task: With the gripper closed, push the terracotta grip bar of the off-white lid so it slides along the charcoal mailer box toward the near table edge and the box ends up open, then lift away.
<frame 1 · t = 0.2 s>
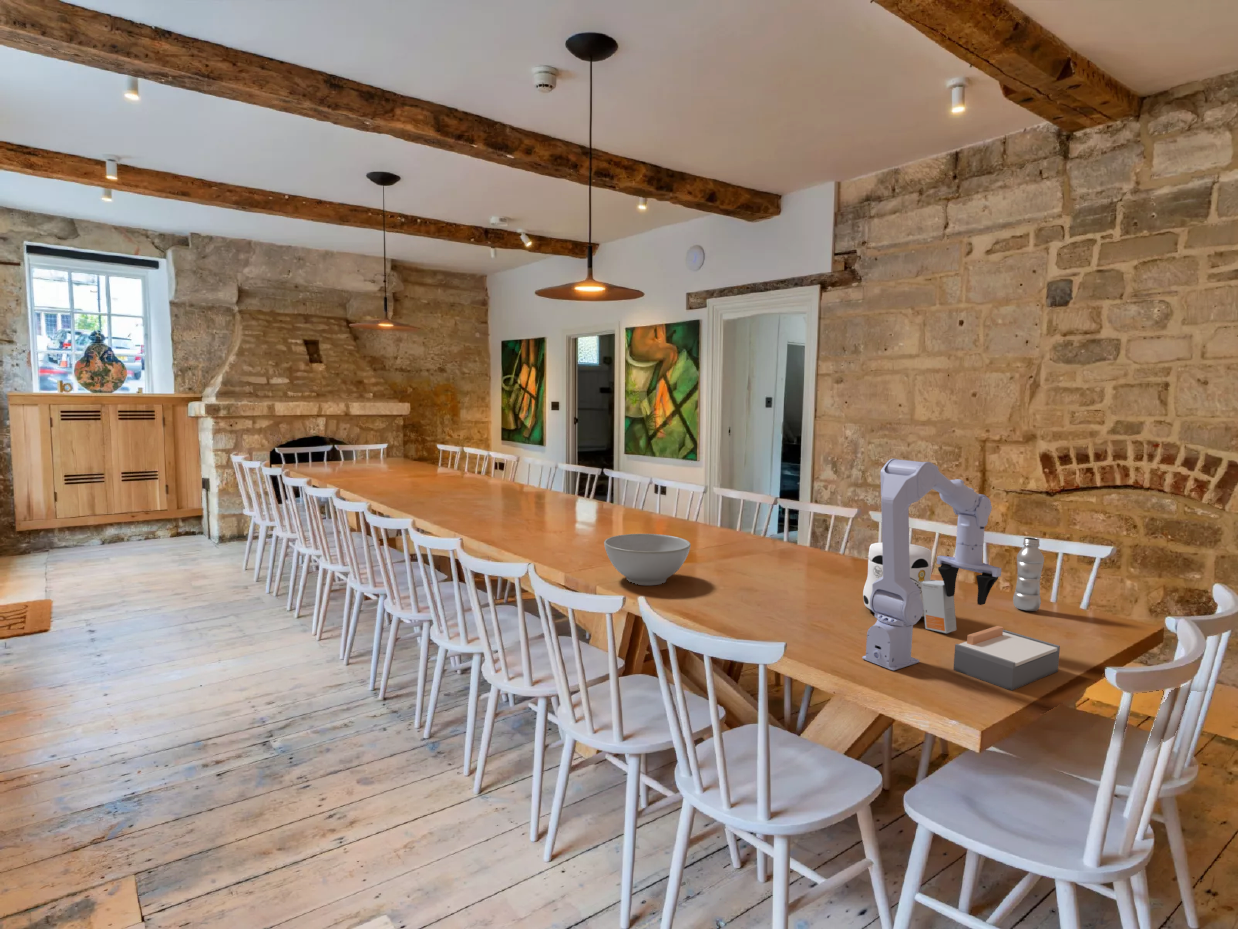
hand: (965, 600, 161), 10 cm above the table, tool pointing down, fingers open, 7 cm apart
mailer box: (1005, 670, 144), on the table
milk container: (896, 614, 182), on the table
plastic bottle: (1026, 610, 188), on the table
lid: (1007, 643, 144), point 6 cm above the table, slide at 0.0 cm
skincare box: (941, 630, 168), on the table, touching gripper
decorative bowl: (646, 580, 212), on the table
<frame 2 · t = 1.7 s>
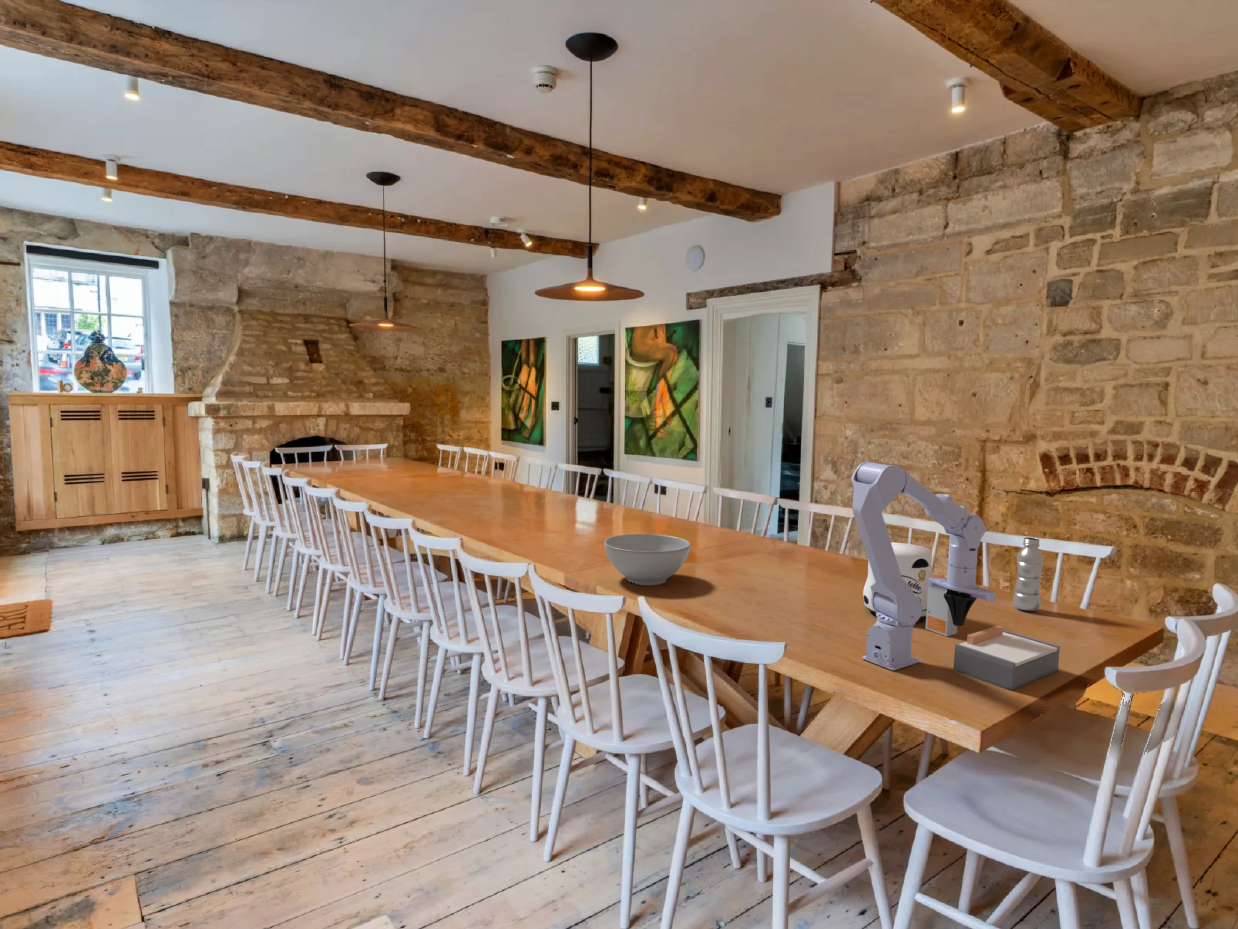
hand: (958, 624, 153), 7 cm above the table, tool pointing down, fingers closed
skincare box: (941, 632, 168), on the table
everything else where it was.
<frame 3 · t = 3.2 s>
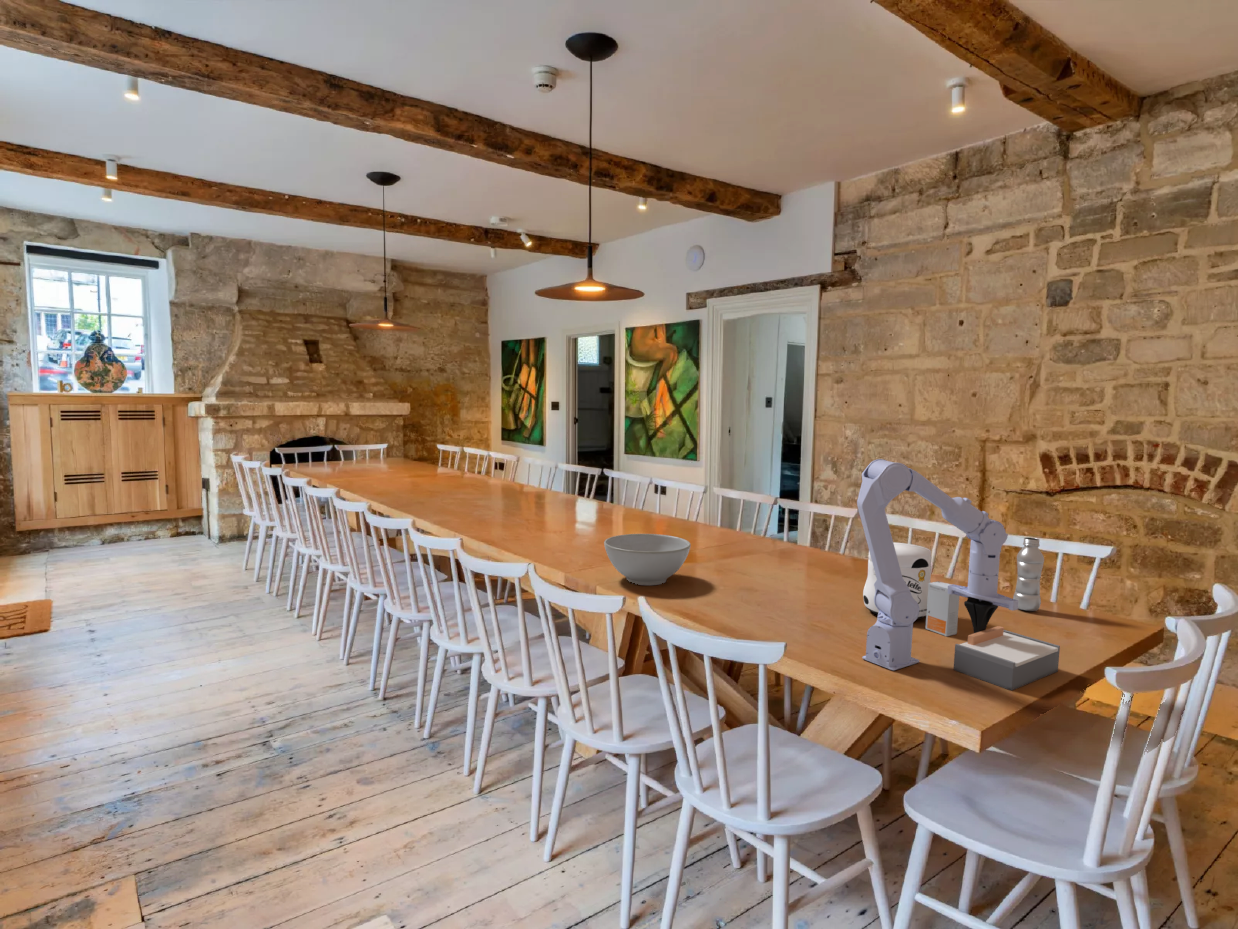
hand: (979, 633, 149), 6 cm above the table, tool pointing down, fingers closed
lid: (1008, 643, 144), point 6 cm above the table, slide at 0.2 cm, touching gripper
everything else where it was.
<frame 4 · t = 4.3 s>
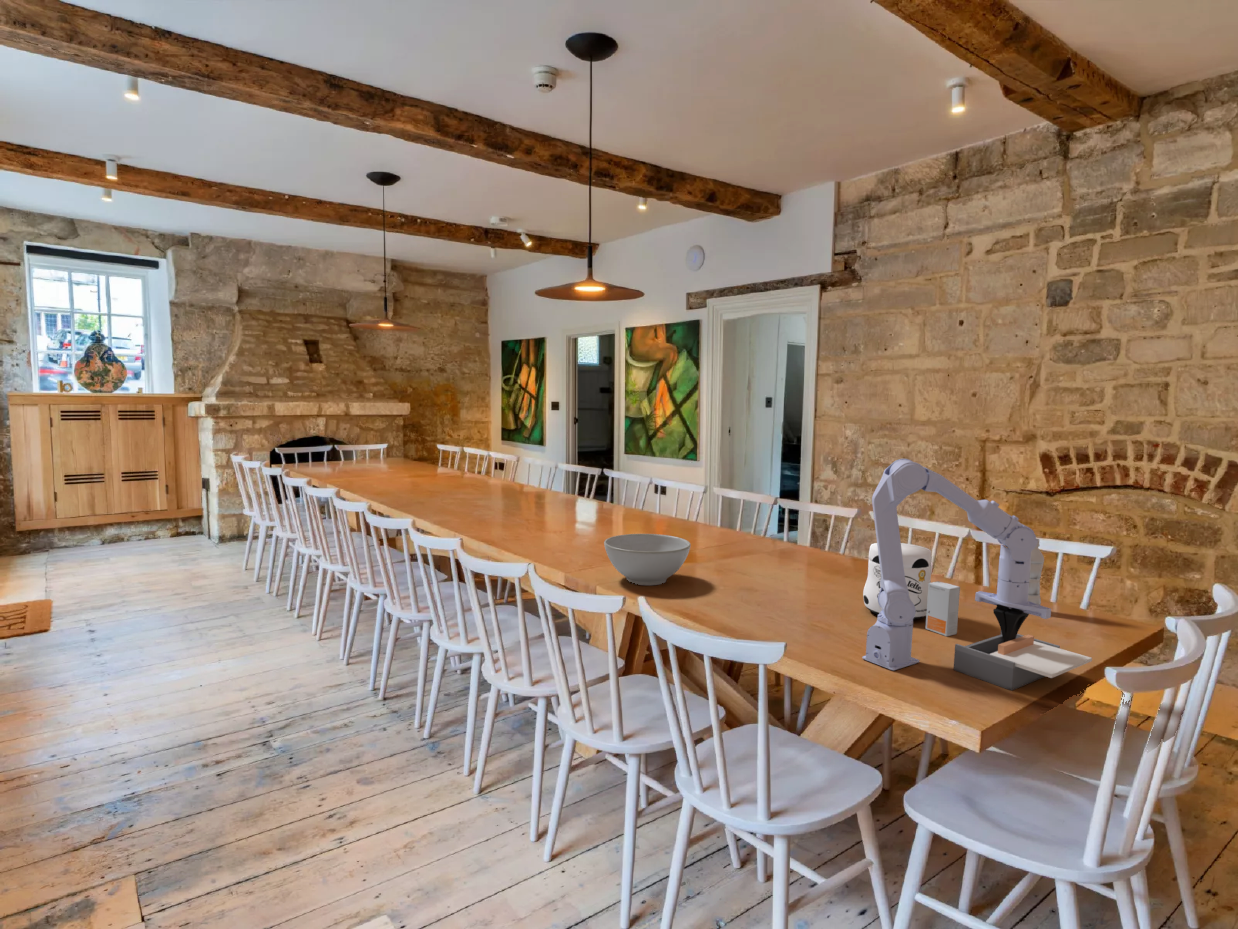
hand: (1008, 642, 144), 6 cm above the table, tool pointing down, fingers closed
lid: (1040, 653, 138), point 6 cm above the table, slide at 6.5 cm, touching gripper
everything else where it was.
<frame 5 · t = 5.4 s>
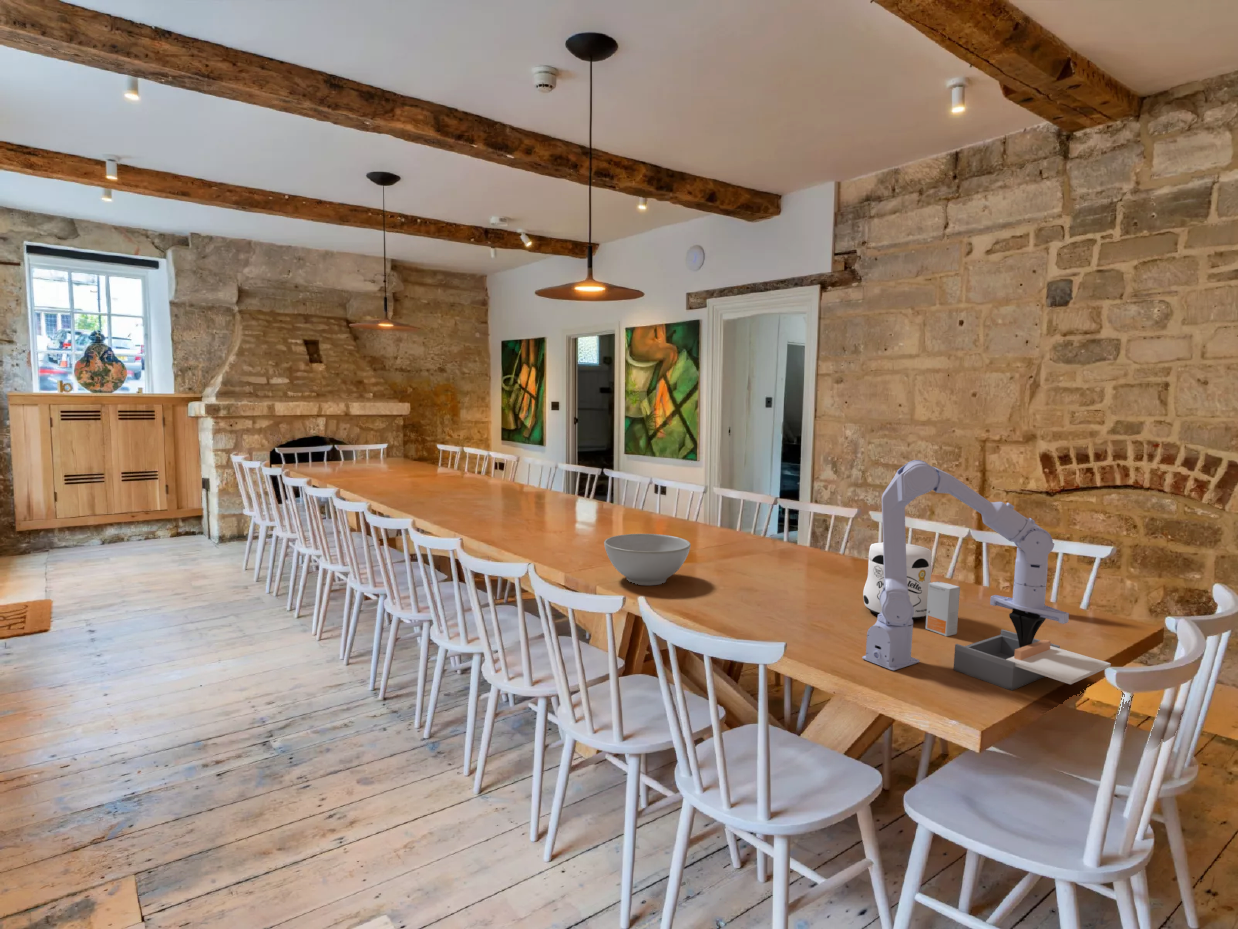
hand: (1025, 647, 141), 6 cm above the table, tool pointing down, fingers closed
lid: (1057, 658, 136), point 6 cm above the table, slide at 9.8 cm, touching gripper
everything else where it was.
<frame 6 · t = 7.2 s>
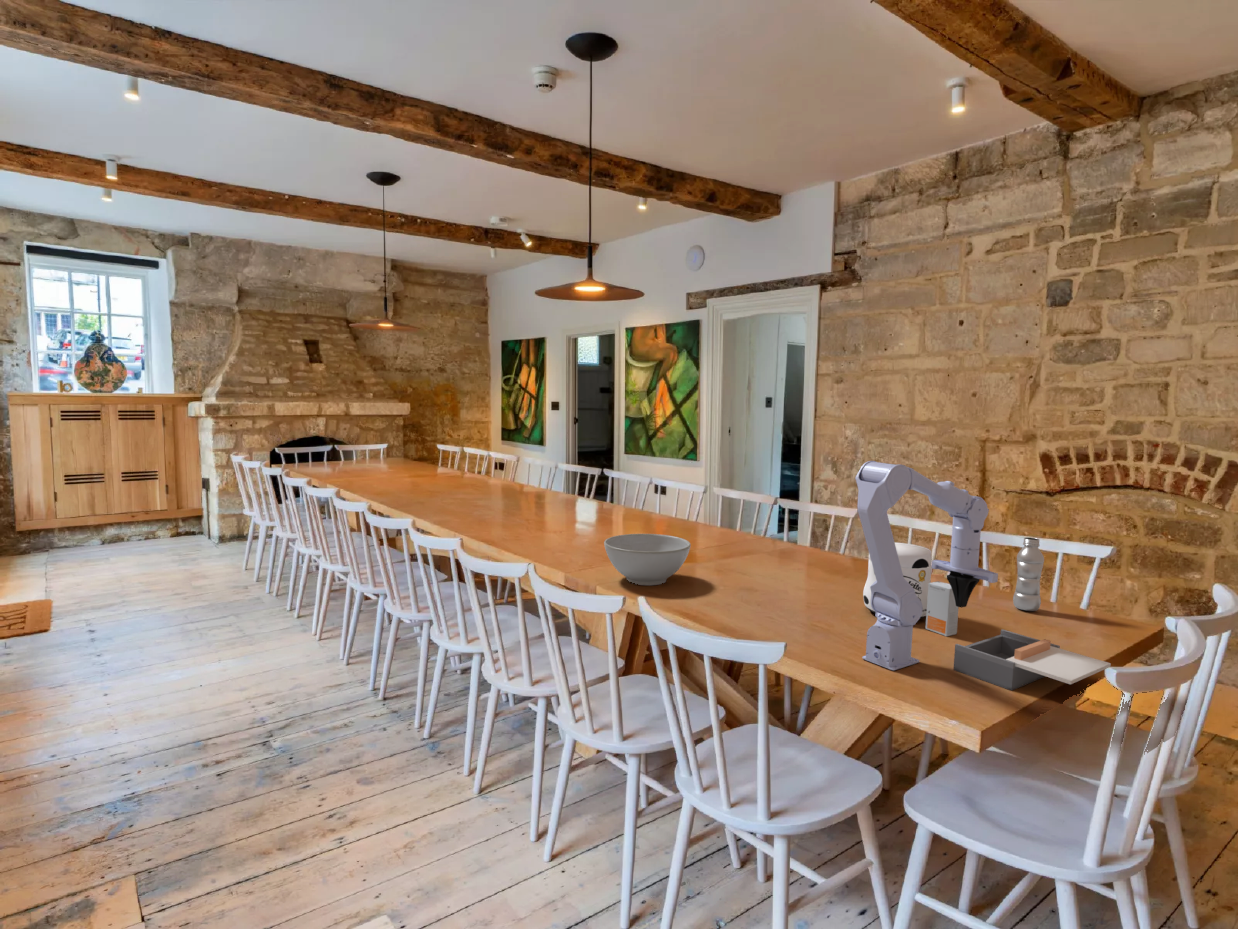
hand: (961, 606, 155), 10 cm above the table, tool pointing down, fingers closed
lid: (1057, 658, 136), point 6 cm above the table, slide at 9.8 cm
everything else where it was.
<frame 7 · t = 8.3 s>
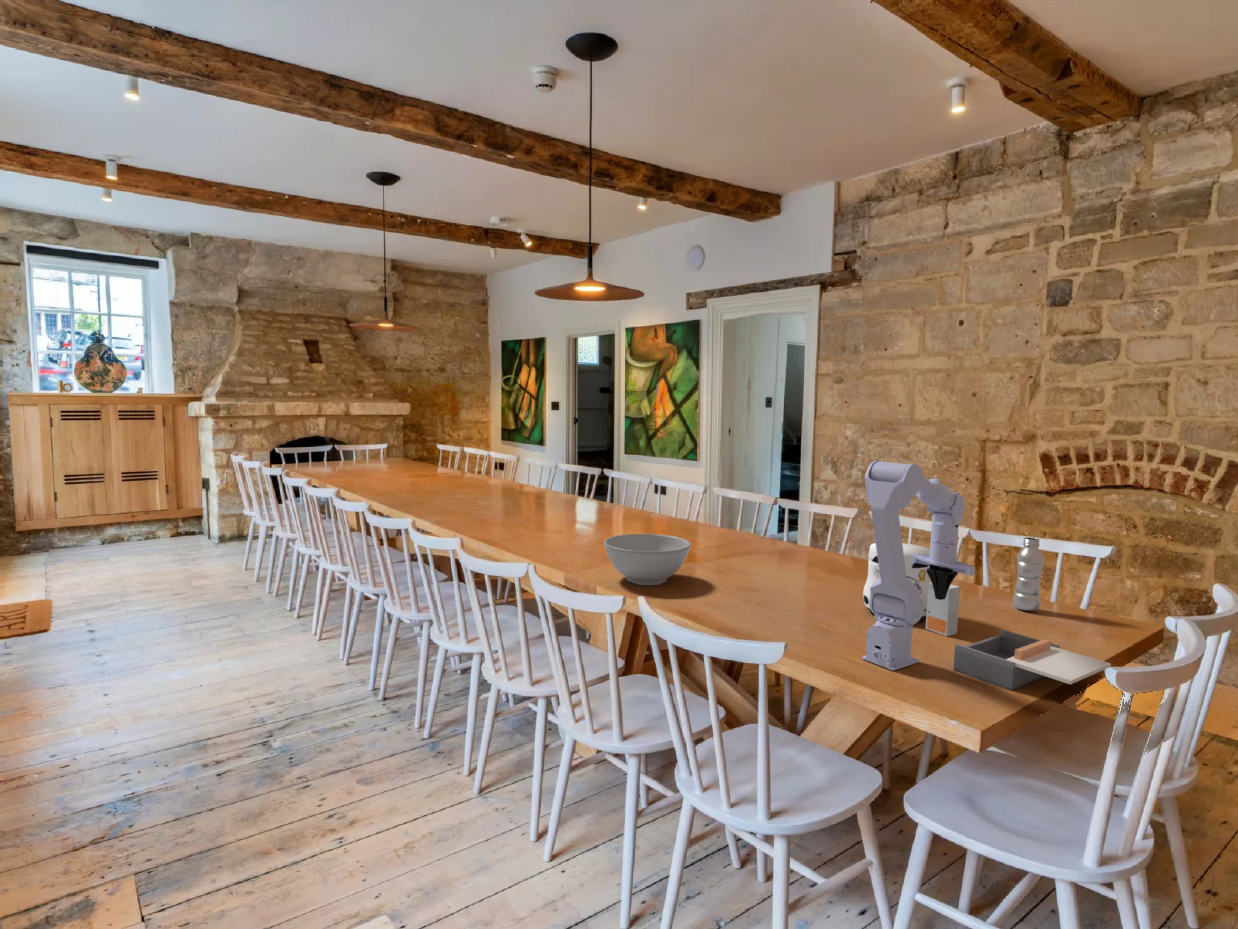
hand: (940, 598, 161), 10 cm above the table, tool pointing down, fingers closed
nothing on the table moved.
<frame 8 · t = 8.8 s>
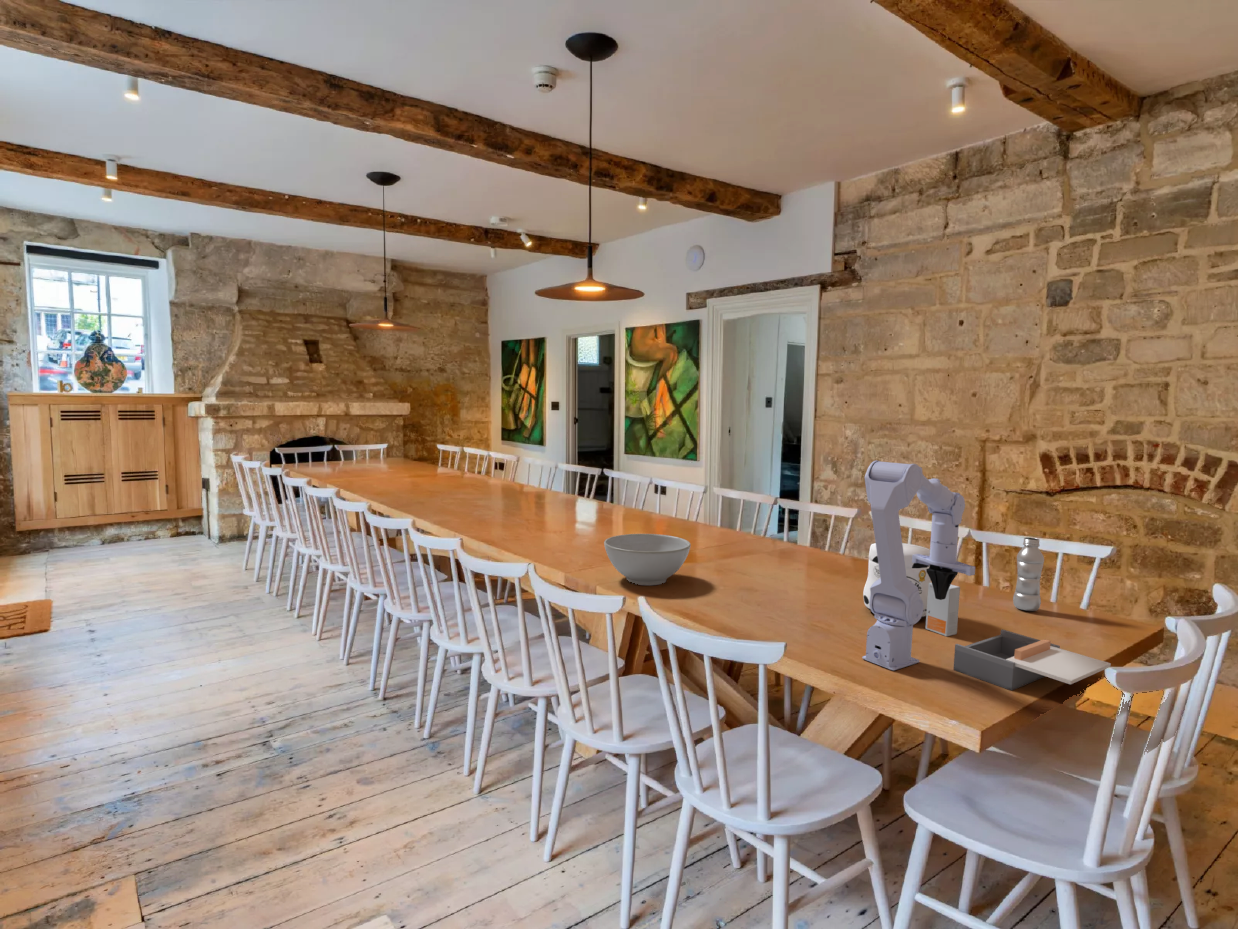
hand: (940, 598, 161), 10 cm above the table, tool pointing down, fingers closed
nothing on the table moved.
at the end: lid slide at 9.8 cm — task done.
